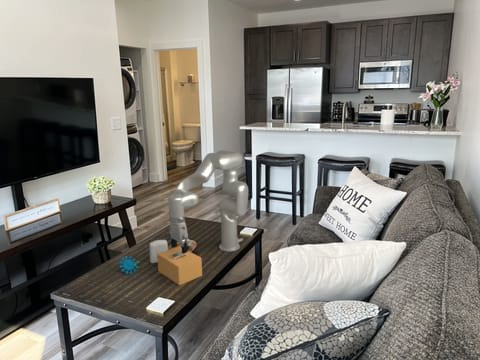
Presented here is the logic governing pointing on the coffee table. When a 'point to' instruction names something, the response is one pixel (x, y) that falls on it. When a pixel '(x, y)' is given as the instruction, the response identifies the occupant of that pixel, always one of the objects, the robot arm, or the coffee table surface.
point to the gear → (128, 265)
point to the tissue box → (179, 266)
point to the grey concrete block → (178, 255)
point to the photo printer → (157, 249)
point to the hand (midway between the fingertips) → (179, 249)
